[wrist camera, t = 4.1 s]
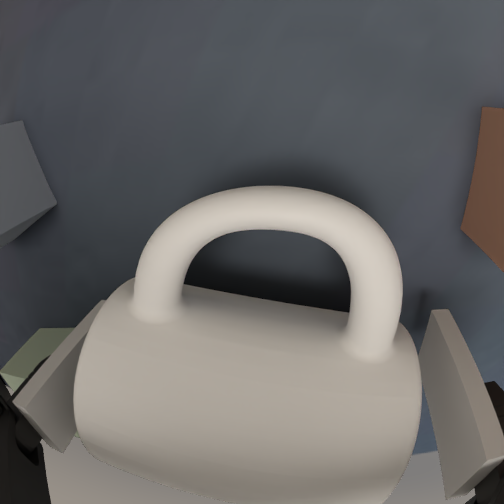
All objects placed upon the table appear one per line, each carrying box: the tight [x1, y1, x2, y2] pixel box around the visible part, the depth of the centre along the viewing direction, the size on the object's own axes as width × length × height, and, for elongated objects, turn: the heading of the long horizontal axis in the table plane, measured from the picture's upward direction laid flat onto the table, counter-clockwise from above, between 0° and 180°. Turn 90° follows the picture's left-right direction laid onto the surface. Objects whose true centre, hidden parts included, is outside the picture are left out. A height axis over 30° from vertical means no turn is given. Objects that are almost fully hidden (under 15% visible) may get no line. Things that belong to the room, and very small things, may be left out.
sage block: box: [0, 328, 80, 438], centre depth 16 cm, size 5×5×5 cm
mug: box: [73, 186, 422, 504], centre depth 10 cm, size 12×10×8 cm
